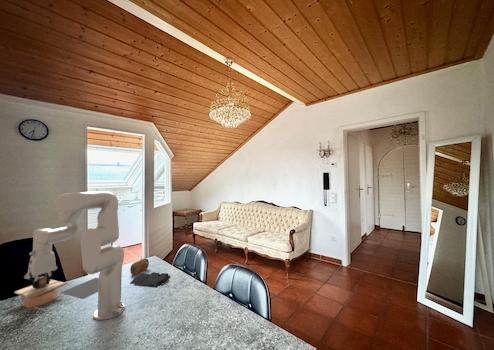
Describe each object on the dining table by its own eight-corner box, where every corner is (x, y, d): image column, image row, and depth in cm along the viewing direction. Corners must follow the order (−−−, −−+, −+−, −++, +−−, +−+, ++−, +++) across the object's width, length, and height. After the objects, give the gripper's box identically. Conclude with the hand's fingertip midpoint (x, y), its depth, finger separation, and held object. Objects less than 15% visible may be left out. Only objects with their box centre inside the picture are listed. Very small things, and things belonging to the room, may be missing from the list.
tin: (132, 277, 139) (133, 264, 140) (129, 276, 140) (129, 264, 141) (149, 268, 154) (149, 256, 154) (145, 268, 155) (145, 256, 155)
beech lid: (66, 284, 117) (66, 274, 117) (31, 298, 103) (31, 286, 103) (49, 280, 122) (50, 270, 122) (14, 293, 108) (14, 281, 108)
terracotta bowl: (61, 296, 115) (61, 287, 116) (32, 309, 104) (33, 298, 104) (47, 293, 120) (48, 284, 120) (19, 304, 108) (19, 294, 108)
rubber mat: (117, 283, 131) (117, 282, 131) (83, 299, 112) (83, 298, 112) (95, 278, 138) (95, 277, 138) (59, 293, 119) (59, 292, 119)
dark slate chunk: (143, 275, 143) (143, 268, 144) (172, 277, 140) (172, 270, 140) (126, 286, 128) (126, 278, 128) (159, 288, 125) (159, 280, 125)
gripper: (25, 257, 104) (24, 295, 103) (64, 247, 120) (63, 280, 119) (17, 255, 106) (16, 292, 106) (56, 246, 122) (55, 278, 121)
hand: (41, 285), depth 112 cm, fingers closed on beech lid, 4 cm apart
